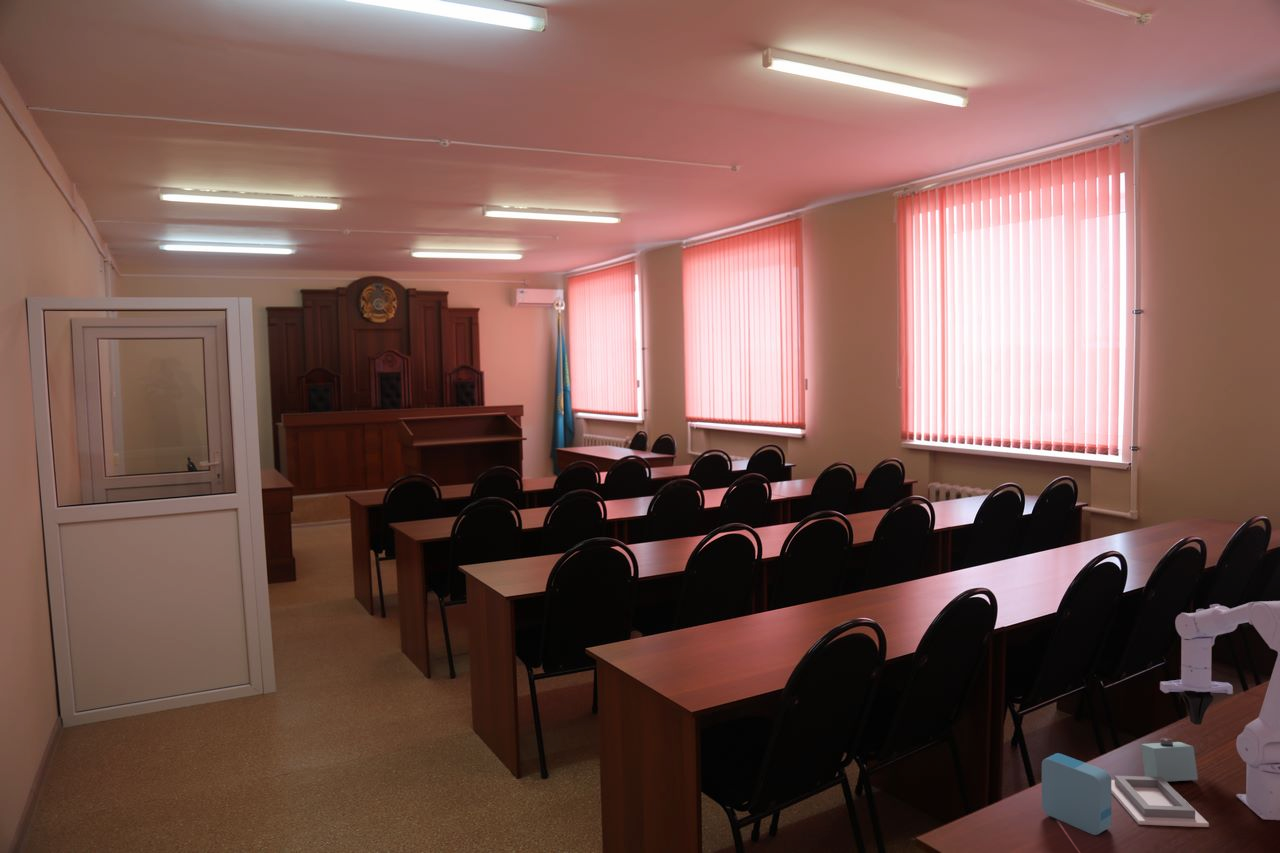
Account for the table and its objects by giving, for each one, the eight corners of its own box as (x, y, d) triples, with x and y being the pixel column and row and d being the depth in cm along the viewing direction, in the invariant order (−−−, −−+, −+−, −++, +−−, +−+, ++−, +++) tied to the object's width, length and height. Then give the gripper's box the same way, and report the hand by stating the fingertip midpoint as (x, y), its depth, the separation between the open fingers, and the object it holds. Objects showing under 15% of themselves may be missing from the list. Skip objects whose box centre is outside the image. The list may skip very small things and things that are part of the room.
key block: (1197, 779, 182) (1192, 740, 183) (1158, 782, 181) (1153, 742, 182) (1183, 774, 186) (1178, 736, 187) (1145, 776, 186) (1140, 738, 187)
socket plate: (1208, 827, 165) (1208, 814, 165) (1138, 824, 166) (1138, 812, 166) (1166, 785, 182) (1166, 774, 181) (1103, 783, 183) (1103, 772, 183)
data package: (1111, 831, 164) (1112, 772, 164) (1099, 838, 162) (1099, 778, 161) (1053, 805, 174) (1053, 750, 174) (1041, 812, 172) (1041, 756, 171)
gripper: (1220, 659, 193) (1220, 716, 194) (1153, 658, 195) (1153, 714, 196) (1238, 670, 186) (1237, 729, 187) (1168, 668, 188) (1168, 727, 189)
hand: (1195, 722), depth 191 cm, fingers closed
